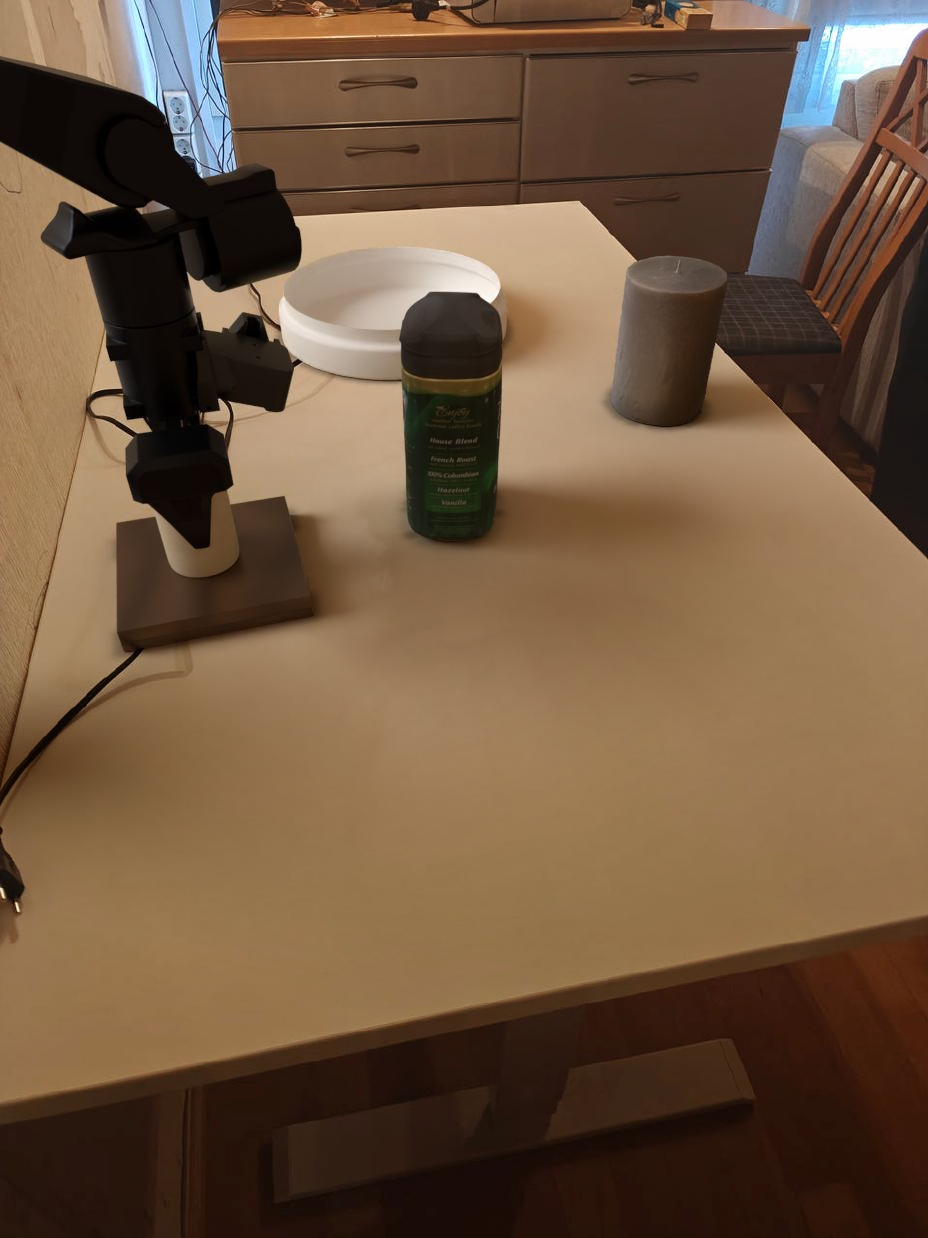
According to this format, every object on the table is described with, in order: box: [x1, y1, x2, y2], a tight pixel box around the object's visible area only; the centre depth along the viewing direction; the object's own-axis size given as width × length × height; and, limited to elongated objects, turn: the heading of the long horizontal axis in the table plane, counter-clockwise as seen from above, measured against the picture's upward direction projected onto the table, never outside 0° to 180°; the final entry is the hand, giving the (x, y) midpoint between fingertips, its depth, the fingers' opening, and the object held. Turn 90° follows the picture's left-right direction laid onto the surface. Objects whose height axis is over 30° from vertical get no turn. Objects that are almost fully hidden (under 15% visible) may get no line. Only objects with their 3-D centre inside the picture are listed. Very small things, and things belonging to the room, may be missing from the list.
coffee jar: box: [399, 292, 504, 542], centre depth 70 cm, size 10×8×19 cm
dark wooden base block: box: [115, 495, 315, 652], centre depth 69 cm, size 14×14×2 cm
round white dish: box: [278, 246, 508, 381], centre depth 103 cm, size 27×27×6 cm
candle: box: [152, 490, 239, 578], centre depth 65 cm, size 6×6×10 cm
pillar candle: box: [610, 255, 729, 427], centre depth 87 cm, size 10×10×15 cm
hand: (198, 511), depth 66 cm, fingers open, 9 cm apart
